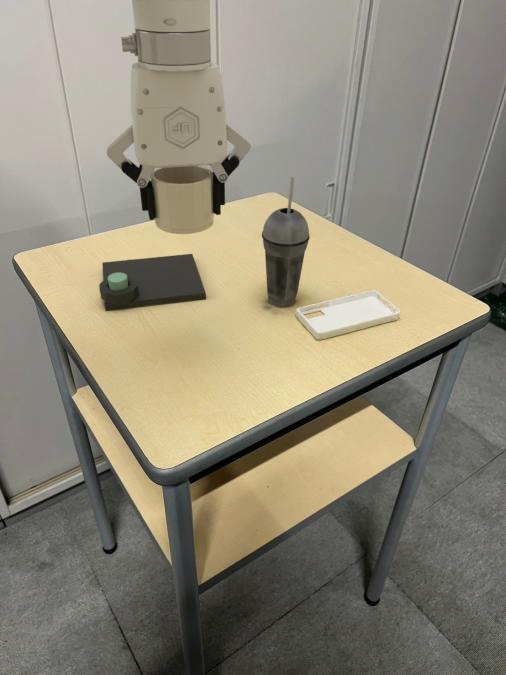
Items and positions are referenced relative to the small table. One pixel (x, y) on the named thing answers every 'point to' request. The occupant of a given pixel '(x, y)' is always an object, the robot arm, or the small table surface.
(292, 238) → the beverage cup
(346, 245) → the small table surface
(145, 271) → the scale
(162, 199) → the beige cup
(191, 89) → the robot arm
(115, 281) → the button
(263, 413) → the small table surface
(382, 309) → the phone case
